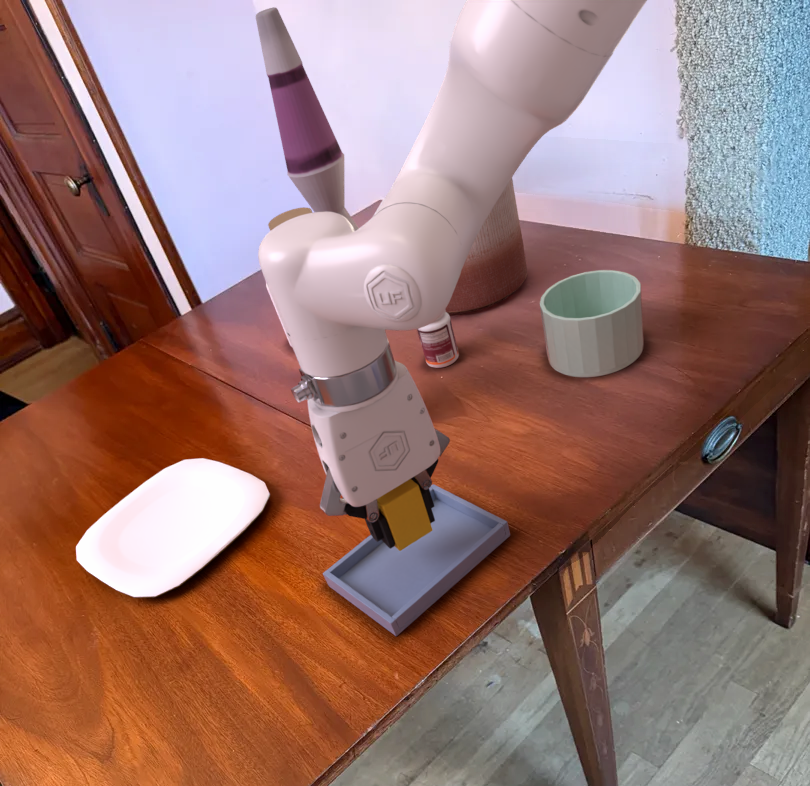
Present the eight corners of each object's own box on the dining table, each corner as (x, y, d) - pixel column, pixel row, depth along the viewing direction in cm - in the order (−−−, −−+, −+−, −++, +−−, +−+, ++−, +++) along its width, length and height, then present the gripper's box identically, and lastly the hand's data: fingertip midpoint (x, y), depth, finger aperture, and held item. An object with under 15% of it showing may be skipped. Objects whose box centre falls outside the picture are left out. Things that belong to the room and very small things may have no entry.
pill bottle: (434, 349, 108) (420, 296, 102) (464, 350, 105) (451, 295, 100) (420, 368, 105) (405, 314, 99) (451, 369, 103) (437, 314, 97)
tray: (437, 497, 84) (433, 483, 83) (510, 535, 77) (507, 521, 75) (328, 586, 78) (322, 573, 77) (396, 636, 71) (390, 623, 70)
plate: (63, 559, 94) (56, 550, 93) (191, 457, 104) (186, 447, 103) (157, 621, 81) (150, 611, 80) (293, 497, 91) (288, 487, 90)
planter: (512, 251, 124) (496, 152, 114) (542, 294, 111) (526, 187, 100) (410, 284, 125) (385, 188, 115) (427, 331, 112) (400, 228, 102)
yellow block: (412, 511, 77) (397, 467, 73) (433, 530, 74) (418, 485, 70) (379, 531, 76) (362, 487, 72) (399, 551, 73) (383, 506, 69)
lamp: (318, 281, 136) (227, 28, 110) (321, 257, 144) (237, 15, 117) (374, 266, 134) (296, 5, 108) (375, 243, 142) (302, -7, 116)
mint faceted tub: (643, 321, 99) (641, 264, 93) (643, 372, 91) (640, 312, 85) (552, 332, 103) (544, 277, 97) (544, 381, 95) (535, 325, 89)
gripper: (281, 437, 58) (352, 593, 70) (456, 339, 61) (494, 502, 74) (246, 402, 63) (318, 553, 75) (409, 314, 67) (452, 470, 79)
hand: (404, 526), depth 74 cm, fingers closed on yellow block, 4 cm apart
